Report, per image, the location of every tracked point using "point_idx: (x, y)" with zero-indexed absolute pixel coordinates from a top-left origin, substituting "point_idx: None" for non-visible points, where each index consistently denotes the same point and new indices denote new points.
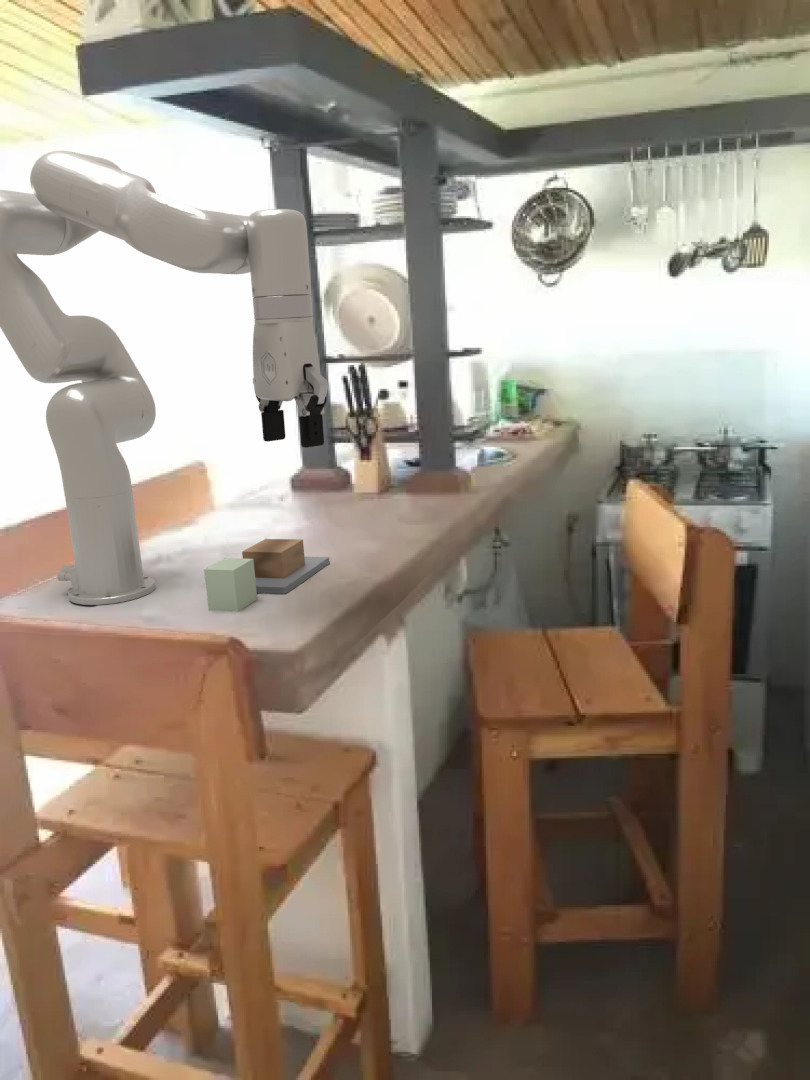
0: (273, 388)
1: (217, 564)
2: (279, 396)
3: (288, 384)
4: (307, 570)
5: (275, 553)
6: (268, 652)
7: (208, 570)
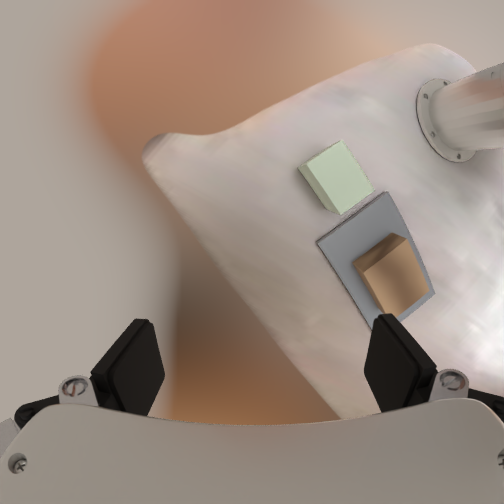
0: (199, 485)
1: (352, 164)
2: (134, 427)
3: (15, 451)
4: (355, 298)
5: (369, 267)
6: (155, 137)
7: (337, 143)
